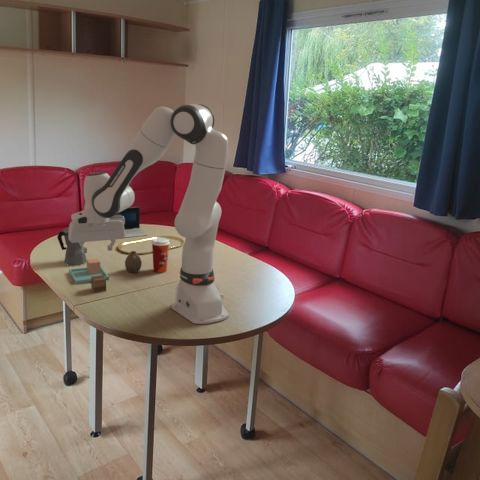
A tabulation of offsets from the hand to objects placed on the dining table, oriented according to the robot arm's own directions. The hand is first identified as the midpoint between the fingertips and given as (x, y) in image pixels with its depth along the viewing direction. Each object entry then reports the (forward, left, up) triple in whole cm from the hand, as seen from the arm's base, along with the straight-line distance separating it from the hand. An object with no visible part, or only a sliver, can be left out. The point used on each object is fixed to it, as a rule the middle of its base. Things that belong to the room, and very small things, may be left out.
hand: (97, 251), depth 181 cm
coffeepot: (+32, +3, -16) cm, 36 cm away
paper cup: (+11, -29, -16) cm, 35 cm away
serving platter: (+44, -37, -16) cm, 60 cm away
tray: (+14, 0, -16) cm, 21 cm away
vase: (+14, -18, -16) cm, 28 cm away
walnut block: (0, 0, -16) cm, 16 cm away
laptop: (+67, -32, -16) cm, 75 cm away
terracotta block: (+17, -2, -15) cm, 23 cm away
